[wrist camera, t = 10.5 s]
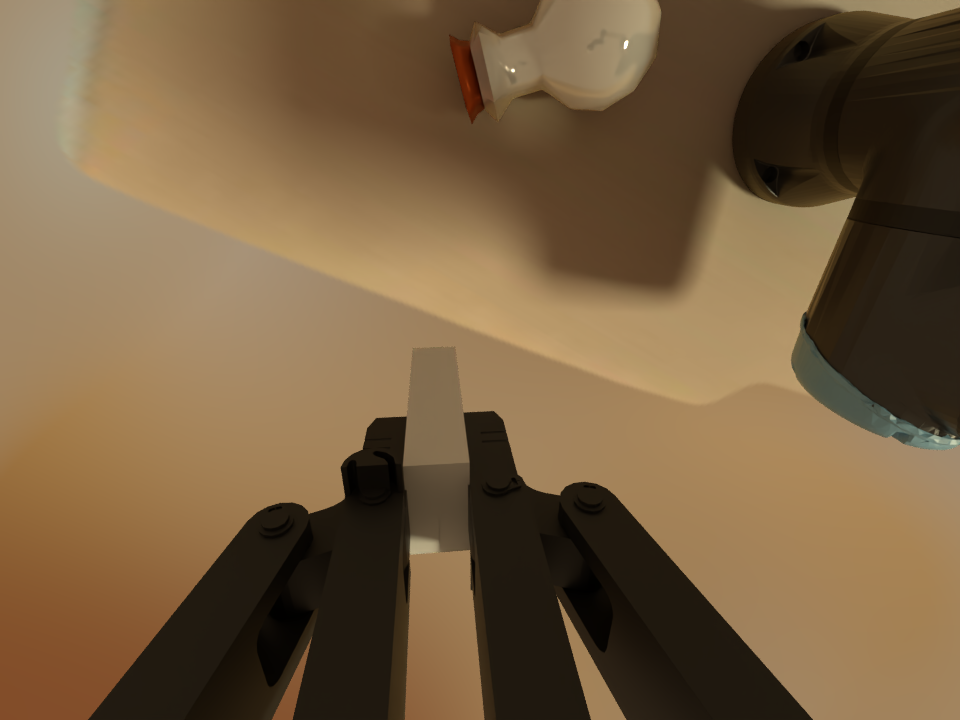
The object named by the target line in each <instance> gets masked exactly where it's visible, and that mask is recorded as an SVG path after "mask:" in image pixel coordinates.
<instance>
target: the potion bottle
mask: <svg viewBox="0 0 960 720" xmlns="http://www.w3.org/2000/svg"><path fill="white" fill-rule="evenodd" d="M660 21H661V9H660V6H659V3H658V0H540V2H539V4H538V7H537V9H536V11H535V13H534V16H533V18H532V20H531V22H530V24H527V25H524V26H521V27H518V28H515V29H512V30H509V31H506V32H503V33H500V34H499V33H497V32H495V31H493V30H491V29H489V28H487V27H485V26H483V25H481V24H479V23H477V22H476V21H475V22H474V25H473V29H472V32H471V35H470V39H469V41H462V40H458V39H456V38H455V37H453V36H451V35H449V37H450V46H451V50H452V54H453V58H454V62H455V66H456V70H457V74H458V78H459V82H460V86H461V90H462V93H463V97H464V101H465V105H466V109H467V112H468V114H469V117H470V120H471V123H472V124H473V122H474V120H475V118H476V116H477V115H478V113H480V112H481V111H482V110H484V109H485V110H486V111H487V112H488V113H489V114H490V115H491V116H492V117H493V118H494V119H495V120H496V121H497V122H499V120H500V118H501V117H502V115H503V114H504V112H505V111H506V109H507V107H508V106H509V104H510V103H511V101H512V99H514V98H517V97H520V96H523V95H526V94H529V93H533V92H536V91H539V90H544V91H545V92H546V93H548V94H549V95H550V96H552V97H553V98H555V99H556V100H557V101H559V102H560V103H562V104H563V105H564V106H566V107H567V108H569V109H570V110H591V111H603V110H605V109H606V108H608V107H609V106H611V105H613V104H614V103H616V102H617V101H619V100H620V99H622V98H624V97H625V96H627V95H628V94H630V93H632V92H633V91H634V90H635V89H636V87H637V86H638V84H639V83H640V81H641V80H642V78H643V77H644V75H645V74H646V72H647V71H648V69H649V68H650V66H651V65H652V63H653V61H654V60H655V58H656V57H657V48H658V39H659V30H660Z"/></svg>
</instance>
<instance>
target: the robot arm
mask: <svg viewBox="0 0 960 720" xmlns="http://www.w3.org/2000/svg"><path fill="white" fill-rule="evenodd" d="M733 152H734V158H735V162H736V165H737V169H738V171H739V173H740V175H741V177H742V179H743V181H744V182H745V184H746V185H747V186H748V187H749V188H750V189H751V191H753V192H754V193H755V194H756V195H758V196H759V197H761V198H762V199H764V200H767V201H769V202H772V203H776V204H781V205H786V206H792V207H814V206H820V205H825V204H829V203H833V202H837V201H841V200H845V199H849V198H853V197H856V198H855V201H854V203H853V206H852V208H851V211H850V213H849V215H848V217H847V219H846V222H845V224H844V226H843V229H842V231H841V233H840V236H839V238H838V240H837V243H836V245H835V247H834V250H833V252H832V254H831V257H830V259H829V261H828V264H827V266H826V268H825V271H824V273H823V275H822V278H821V280H820V282H819V285H818V287H817V289H816V292H815V294H814V296H813V299H812V301H811V303H810V306H809V308H808V310H807V312H805V313H804V314H803V316H802V318H801V322H800V328H801V330H800V333H799V336H798V338H797V341H796V344H795V347H794V350H793V353H792V357H791V364H792V368H793V370H794V372H795V374H796V378H797V380H798V381H799V383H800V384H801V385H802V386H803V387H804V389H805V390H806V391H807V392H808V393H809V394H810V395H812V396H813V397H814V398H815V399H816V400H817V401H819V402H820V403H821V404H823V405H824V406H825V407H827V408H828V409H830V410H831V411H833V412H834V413H836V414H838V415H839V416H841V417H843V418H845V419H846V420H848V421H850V422H851V423H853V424H855V425H857V426H859V427H861V428H863V429H865V430H868V431H870V432H872V433H875V434H877V435H880V436H882V437H890V436H892V437H894V438H896V439H897V440H899V441H900V442H902V443H903V444H906V445H910V446H913V447H918V448H922V449H932V450H946V449H951V448H955V447H957V446H958V445H960V8H956V9H953V10H949V11H945V12H941V13H937V14H934V15H930V16H927V17H923V18H919V19H910V18H904V17H899V16H893V15H888V14H882V13H876V12H871V11H852V12H845V13H840V14H836V15H833V16H830V17H826V18H823V19H820V20H817V21H814V22H811V23H809V24H807V25H805V26H803V27H801V28H799V29H797V30H796V31H794V32H793V33H791V34H790V35H788V36H787V37H786V38H784V39H783V40H782V41H781V42H780V43H778V44H777V45H776V46H775V47H774V48H773V49H772V50H771V51H770V52H769V53H768V55H767V56H766V57H765V58H764V59H763V61H762V62H761V63H760V64H759V66H758V67H757V69H756V70H755V72H754V73H753V75H752V77H751V78H750V80H749V82H748V84H747V86H746V88H745V90H744V92H743V94H742V97H741V100H740V102H739V105H738V109H737V112H736V116H735V122H734V129H733ZM341 472H342V479H343V485H344V492H345V499H344V500H343V501H341V502H340V503H338V504H336V505H334V506H332V507H329V508H327V509H324V510H321V511H317V512H314V513H310V514H308V511H307V510H306V509H305V508H304V507H303V506H302V505H299V504H295V503H279V504H275V505H272V506H269V507H267V508H265V509H263V510H261V511H259V512H257V513H256V514H255V515H254V516H253V517H252V518H251V519H249V520H248V521H247V523H246V524H245V525H244V526H243V528H242V529H241V530H240V531H239V533H238V534H237V535H236V536H235V538H234V539H233V540H232V541H231V542H230V544H229V545H228V546H227V547H226V549H225V550H224V551H223V552H222V554H221V555H220V556H219V557H218V559H217V560H216V561H215V563H214V564H213V565H212V566H211V568H210V569H209V570H208V571H207V572H206V574H205V575H204V576H203V577H202V579H201V580H200V581H199V582H198V584H197V585H196V586H195V587H194V589H193V590H192V591H191V593H190V594H189V595H188V596H187V597H186V599H185V600H184V601H183V602H182V603H181V605H180V606H179V607H178V608H177V610H176V611H175V612H174V613H173V615H172V616H171V617H170V618H169V620H168V621H167V622H166V623H165V625H164V626H163V627H162V628H161V630H160V631H159V632H158V634H157V635H156V636H155V637H154V638H153V640H152V641H151V642H150V643H149V645H148V646H147V647H146V649H145V650H144V651H143V652H142V653H141V655H140V656H139V657H138V658H137V660H136V661H135V662H134V664H133V665H132V666H131V667H130V668H129V670H128V671H127V672H126V673H125V675H124V676H123V677H122V678H121V679H120V681H119V682H118V683H117V684H116V686H115V687H114V688H113V689H112V691H111V692H110V693H109V694H108V696H107V697H106V698H105V699H104V701H103V702H102V703H101V705H100V706H99V707H98V708H97V709H96V711H95V712H94V713H93V714H92V716H91V717H90V718H89V719H88V720H272V718H273V716H274V714H275V712H276V709H277V707H278V705H279V703H280V701H281V699H282V697H283V695H284V693H285V691H286V689H287V687H288V685H289V683H290V681H291V679H292V677H293V674H294V672H295V670H296V668H297V666H298V664H299V662H300V660H301V658H302V656H303V654H304V652H305V650H306V648H307V645H308V643H309V641H310V639H311V637H312V640H311V644H310V649H309V653H308V657H307V661H306V665H305V670H304V674H303V678H302V682H301V687H300V691H299V695H298V699H297V704H296V708H295V712H294V716H293V720H404V719H405V697H406V673H407V649H408V648H407V647H408V625H409V600H410V576H411V572H410V560H409V555H410V554H424V553H437V552H450V551H463V550H470V552H471V553H470V554H471V590H473V600H474V610H475V621H476V631H477V643H478V653H479V665H480V675H481V684H482V685H481V686H482V697H483V706H484V707H483V708H484V718H485V720H591V719H590V715H589V711H588V708H587V704H586V700H585V697H584V693H583V690H582V686H581V682H580V679H579V675H578V672H577V668H576V665H575V661H574V657H573V653H572V650H571V646H570V643H569V639H568V635H567V632H566V628H565V625H564V621H563V617H562V614H561V610H560V606H559V603H558V599H557V597H558V598H559V600H560V602H561V603H562V606H563V607H564V609H565V611H566V613H567V614H568V616H569V618H570V620H571V622H572V623H573V625H574V627H575V629H576V630H577V632H578V634H579V636H580V638H581V639H582V641H583V643H584V645H585V647H586V648H587V650H588V652H589V654H590V655H591V657H592V659H593V660H594V663H595V664H596V666H597V668H598V670H599V671H600V673H601V675H602V677H603V679H604V680H605V682H606V684H607V686H608V688H609V689H610V691H611V693H612V695H613V696H614V698H615V700H616V702H617V704H618V705H619V707H620V709H621V710H622V712H623V714H624V716H625V718H626V719H627V720H813V719H812V718H811V717H810V716H809V715H808V714H807V712H806V711H805V710H804V709H803V708H802V707H801V706H800V705H799V703H798V702H797V701H796V700H795V699H794V698H793V697H792V695H791V694H790V693H789V692H788V691H787V690H786V689H785V687H784V686H783V685H782V684H781V683H780V682H779V681H778V680H777V678H776V677H775V676H774V675H773V674H772V673H771V672H770V670H769V669H768V668H767V667H766V666H765V665H764V664H763V663H762V661H761V660H760V659H759V658H758V657H757V656H756V655H755V654H754V652H753V651H752V650H751V649H750V648H749V647H748V646H747V644H746V643H745V642H744V641H743V640H742V639H741V638H740V636H739V635H738V634H737V633H736V632H735V631H734V630H733V629H732V627H731V626H730V625H729V624H728V623H727V622H726V621H725V620H724V619H723V617H722V616H721V615H720V614H719V613H718V612H717V611H716V609H715V608H714V607H713V606H712V605H711V604H710V603H709V601H708V600H707V599H706V598H705V597H704V596H703V595H702V594H701V592H700V591H699V590H698V589H697V588H696V587H695V586H694V584H693V583H692V582H691V581H690V580H689V579H688V578H687V577H686V575H685V574H684V573H683V572H682V571H681V570H680V569H679V567H678V566H677V565H676V564H675V563H674V562H673V561H672V560H671V559H670V557H669V556H668V555H667V554H666V553H665V552H664V551H663V549H662V548H661V547H660V546H659V545H658V544H657V543H656V541H655V540H654V539H653V538H652V537H651V536H650V535H649V534H648V532H647V531H646V530H645V529H644V528H643V527H642V526H641V524H639V522H638V521H637V520H636V519H635V518H634V517H633V516H632V514H631V513H630V512H629V511H628V510H627V509H626V508H625V506H624V505H623V504H622V503H621V502H620V501H619V500H618V498H617V497H616V496H615V495H614V494H612V493H611V492H610V491H609V490H608V489H606V488H604V487H602V486H600V485H598V484H594V483H588V482H579V483H573V484H571V485H569V486H566V487H565V488H564V490H563V491H562V492H561V495H560V496H559V495H554V494H548V493H543V492H540V491H536V490H534V489H532V488H530V487H528V486H527V485H526V484H525V482H524V481H523V479H522V477H520V476H519V475H518V474H517V471H516V467H515V464H514V459H513V456H512V452H511V448H510V445H509V442H508V437H507V433H506V430H505V425H504V422H503V420H502V419H501V418H500V417H499V416H498V415H497V414H496V413H495V412H494V411H489V412H488V411H487V412H467V413H463V406H462V398H461V390H460V382H459V374H458V366H457V357H456V349H455V347H436V348H435V347H433V348H413V350H412V362H411V374H410V386H409V398H408V410H407V417H389V418H376V419H375V420H374V421H373V423H372V424H371V425H370V426H369V427H368V428H367V432H366V436H365V442H364V445H363V450H361V451H359V452H356V453H354V454H352V455H351V456H349V457H348V458H347V459H346V460H345V461H344V462H343V464H342V466H341ZM556 595H557V596H556Z"/></svg>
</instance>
